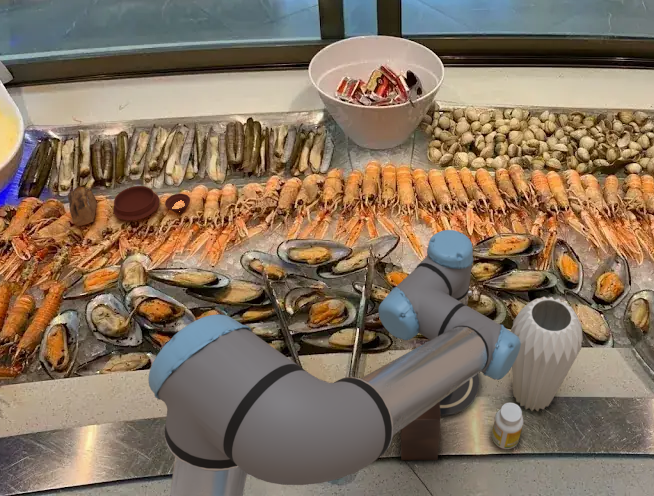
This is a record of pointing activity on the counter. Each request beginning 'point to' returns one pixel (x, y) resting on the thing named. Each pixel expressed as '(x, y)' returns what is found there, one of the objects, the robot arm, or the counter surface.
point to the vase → (544, 350)
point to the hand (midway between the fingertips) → (442, 374)
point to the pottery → (143, 203)
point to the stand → (422, 436)
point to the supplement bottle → (507, 426)
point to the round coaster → (460, 398)
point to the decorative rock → (82, 206)
